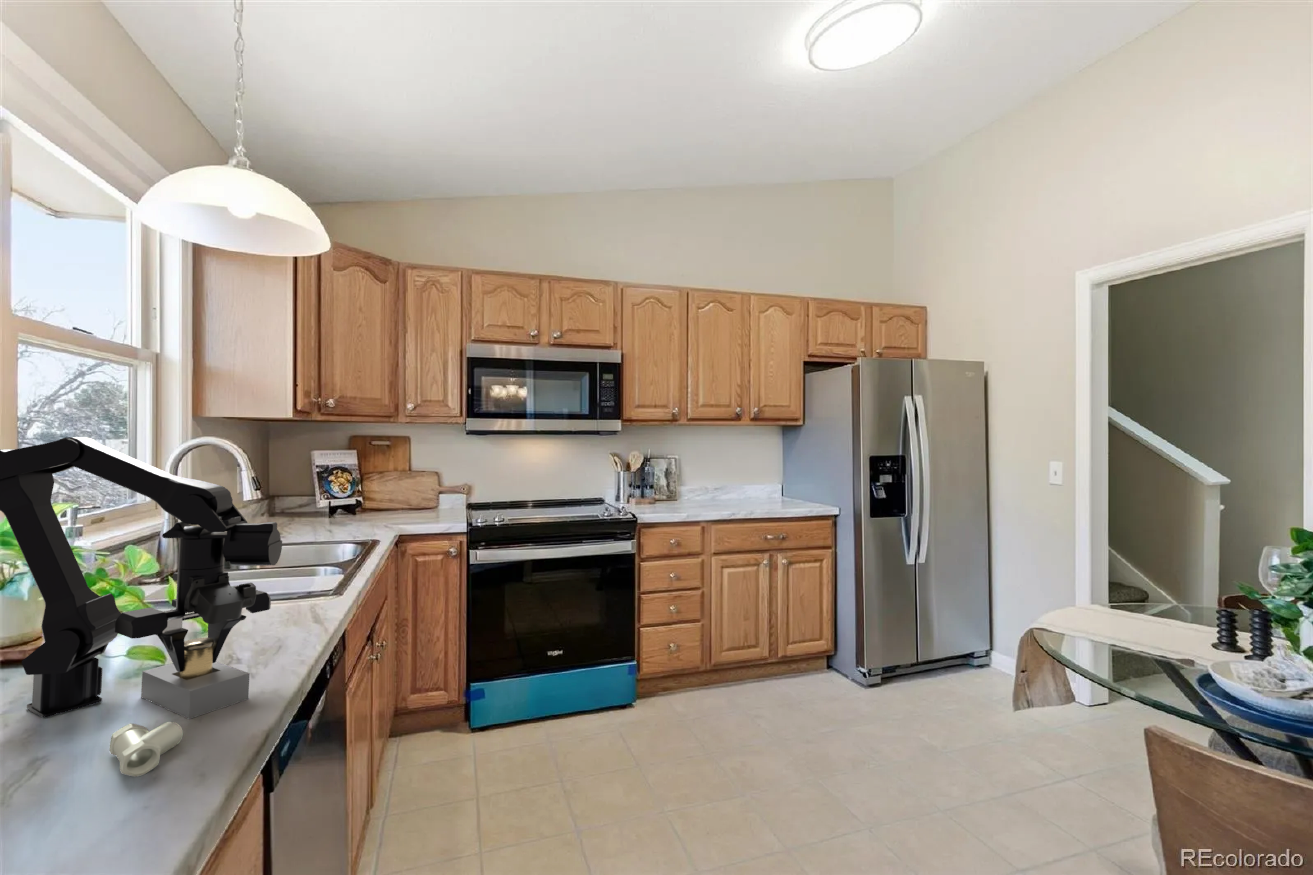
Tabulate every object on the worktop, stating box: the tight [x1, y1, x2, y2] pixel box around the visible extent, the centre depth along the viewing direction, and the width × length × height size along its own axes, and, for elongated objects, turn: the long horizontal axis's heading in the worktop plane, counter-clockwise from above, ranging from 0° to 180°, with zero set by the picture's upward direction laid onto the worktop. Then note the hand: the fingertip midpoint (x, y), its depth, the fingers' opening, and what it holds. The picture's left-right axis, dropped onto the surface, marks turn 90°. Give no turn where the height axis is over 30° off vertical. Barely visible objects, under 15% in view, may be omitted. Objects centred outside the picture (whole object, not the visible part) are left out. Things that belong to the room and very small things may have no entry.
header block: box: [140, 660, 250, 720], centre depth 92 cm, size 8×14×4 cm, turn 63°
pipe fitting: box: [108, 721, 184, 778], centre depth 75 cm, size 8×4×7 cm
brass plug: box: [180, 637, 214, 680], centre depth 92 cm, size 4×4×8 cm
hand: (196, 666), depth 92 cm, fingers closed on brass plug, 4 cm apart
